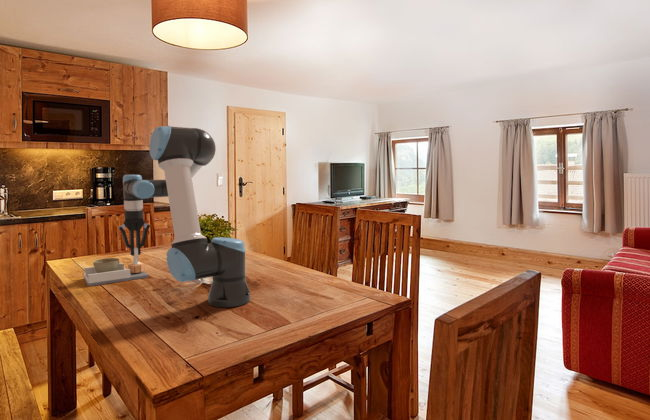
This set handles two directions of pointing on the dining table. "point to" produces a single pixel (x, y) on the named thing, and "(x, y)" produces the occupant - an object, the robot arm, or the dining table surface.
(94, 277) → the chassis
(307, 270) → the dining table surface
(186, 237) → the robot arm
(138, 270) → the wheel
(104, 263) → the flower pot
